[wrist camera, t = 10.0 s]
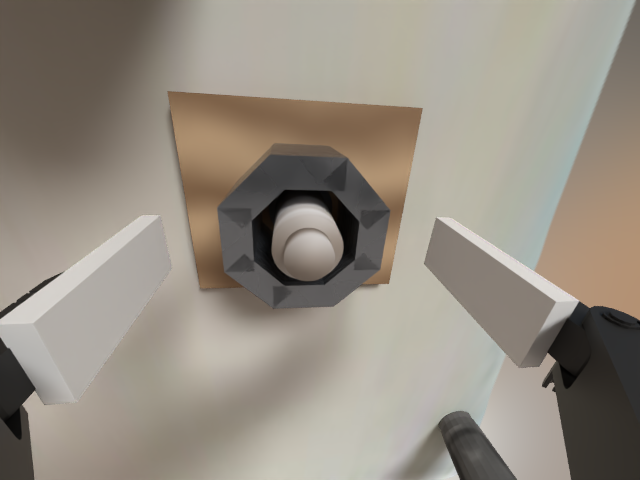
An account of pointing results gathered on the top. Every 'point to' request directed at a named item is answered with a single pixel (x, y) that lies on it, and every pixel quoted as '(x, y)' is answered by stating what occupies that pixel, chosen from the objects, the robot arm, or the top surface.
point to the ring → (256, 237)
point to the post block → (290, 205)
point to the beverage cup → (472, 449)
